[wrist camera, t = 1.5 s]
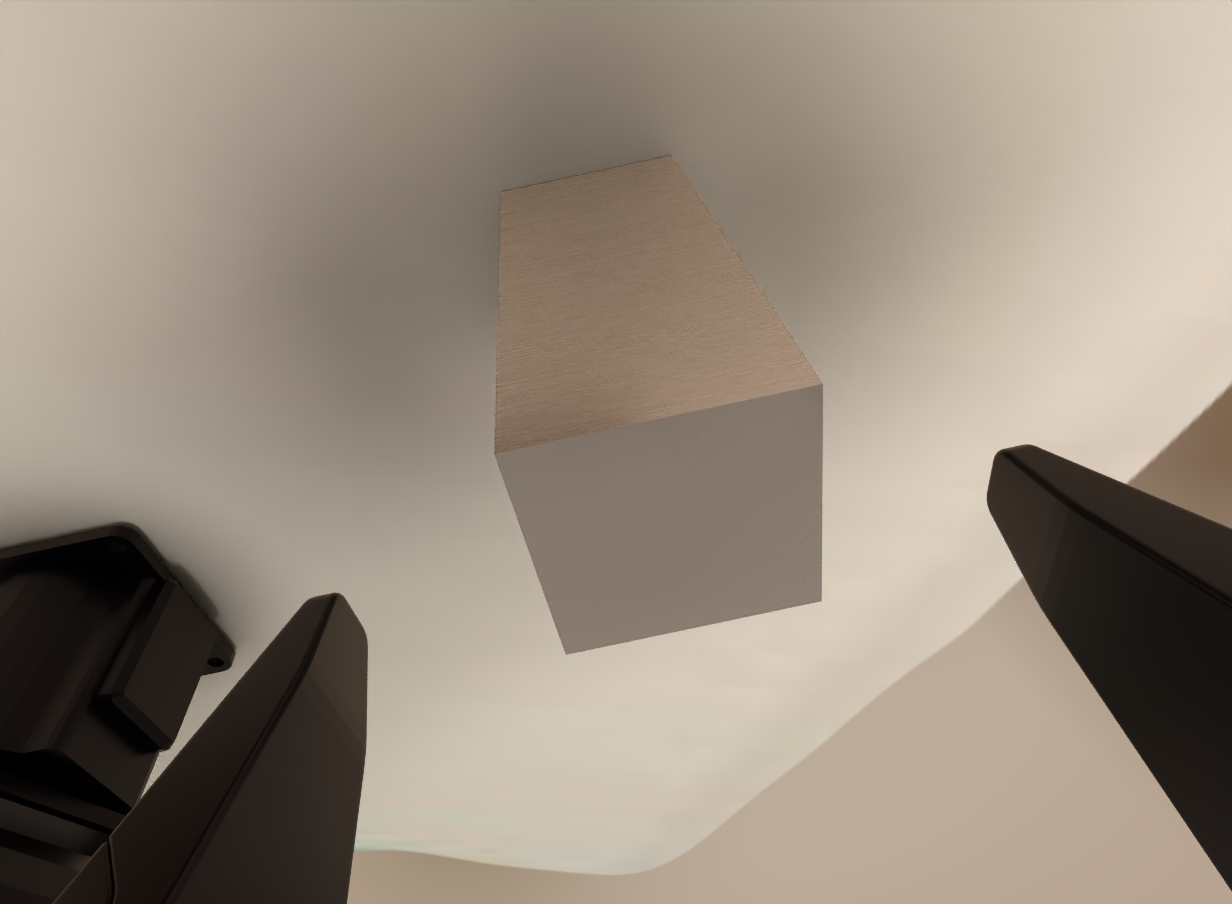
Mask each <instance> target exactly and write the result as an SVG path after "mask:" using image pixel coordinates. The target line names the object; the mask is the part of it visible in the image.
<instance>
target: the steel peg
mask: <svg viewBox="0 0 1232 904" xmlns="http://www.w3.org/2000/svg"><path fill="white" fill-rule="evenodd" d="M822 446H823V383H822V382H821V380H820V379H819V377H818V376H817V374H816V373H815V371H814V370H813V368H812V367H811V365H810V364H809V362H808V361H807V359H806V358H805V356H804V355H803V353H802V352H801V350H800V349H799V347H798V345H797V344H796V342H795V341H794V339H793V338H792V336H791V335H790V333H789V332H788V330H787V329H786V327H785V326H784V324H783V323H782V321H781V320H780V318H779V317H778V315H777V314H776V312H775V311H774V309H773V308H772V306H771V305H770V303H769V302H768V300H767V299H766V297H765V296H764V294H763V293H762V291H761V290H760V288H759V287H758V285H757V284H756V282H755V281H754V279H753V278H752V276H751V275H750V273H749V272H748V270H747V269H746V267H745V265H744V264H743V262H742V261H741V259H740V258H739V256H738V255H737V253H736V252H735V250H734V249H733V247H732V246H731V244H730V243H729V241H728V240H727V238H726V237H725V235H724V234H723V232H722V231H721V229H720V228H719V226H718V225H717V223H716V222H715V220H714V219H713V217H712V216H711V214H710V213H709V211H708V210H707V208H706V207H705V205H704V204H703V202H702V201H701V199H700V198H699V196H698V195H697V193H696V192H695V190H694V188H693V187H692V185H691V184H690V182H689V181H688V179H687V178H686V176H685V175H684V173H683V172H682V170H681V169H680V167H679V166H678V164H677V163H676V161H675V160H674V158H673V157H672V155H670V156H665V157H661V158H656V159H651V160H647V161H642V162H637V163H633V164H628V165H624V166H619V167H614V168H610V169H605V170H601V171H596V172H591V173H587V174H582V175H578V176H573V177H568V178H564V179H559V180H554V181H550V182H545V183H541V184H536V185H531V186H527V187H522V188H518V189H513V190H508V191H504V192H501V214H500V254H499V294H498V333H497V373H496V413H495V453H494V454H495V457H496V459H497V462H498V465H499V468H500V471H501V474H502V476H503V479H504V482H505V485H506V488H507V490H508V493H509V496H510V499H511V502H512V504H513V507H514V510H515V513H516V516H517V519H518V521H519V524H520V527H521V530H522V533H523V535H524V538H525V541H526V544H527V547H528V549H529V552H530V555H531V558H532V561H533V564H534V566H535V569H536V572H537V575H538V578H539V580H540V583H541V586H542V589H543V592H544V594H545V597H546V600H547V603H548V606H549V608H550V611H551V614H552V617H553V620H554V623H555V625H556V628H557V631H558V634H559V637H560V639H561V642H562V645H563V648H564V651H565V653H566V655H567V654H572V653H576V652H581V651H586V650H591V649H595V648H600V647H605V646H610V645H615V644H619V643H624V642H629V641H634V640H638V639H643V638H648V637H653V636H657V635H662V634H667V633H672V632H677V631H681V630H686V629H691V628H696V627H700V626H705V625H710V624H715V623H719V622H724V621H729V620H734V619H739V618H743V617H748V616H753V615H758V614H762V613H767V612H772V611H777V610H781V609H786V608H791V607H796V606H801V605H805V604H810V603H815V602H820V601H821V596H822Z"/></svg>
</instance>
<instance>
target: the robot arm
mask: <svg viewBox="0 0 1232 904" xmlns="http://www.w3.org/2000/svg"><path fill="white" fill-rule="evenodd" d="M987 504H988V508H989V511H990V513H991V515H992V517H993V519H994V521H995V523H996V525H997V527H998V529H999V530H1000V532H1001V534H1002V536H1003V538H1004V540H1005V542H1006V544H1007V546H1008V548H1009V550H1010V551H1011V553H1012V555H1013V557H1014V559H1015V561H1016V563H1017V565H1018V567H1019V569H1020V571H1021V573H1022V574H1023V576H1024V578H1025V580H1026V582H1027V584H1028V586H1029V588H1030V590H1031V592H1032V593H1033V595H1034V597H1035V599H1036V601H1037V602H1038V604H1039V606H1040V607H1041V609H1042V611H1043V612H1044V614H1045V615H1046V617H1047V618H1048V620H1049V622H1050V623H1051V625H1052V626H1053V628H1054V629H1055V630H1056V632H1057V633H1058V635H1059V636H1060V638H1061V639H1062V641H1063V642H1064V644H1065V645H1066V647H1067V648H1068V650H1069V651H1070V653H1071V654H1072V656H1073V657H1074V659H1075V660H1076V662H1077V663H1078V664H1079V666H1080V667H1081V669H1082V670H1083V672H1084V673H1085V675H1086V676H1087V678H1088V679H1089V681H1090V682H1091V684H1092V685H1093V687H1094V688H1095V690H1096V691H1097V692H1098V694H1099V696H1100V697H1101V699H1102V700H1103V702H1104V703H1105V704H1106V706H1107V707H1108V709H1109V710H1110V712H1111V713H1112V715H1113V716H1114V718H1115V719H1116V721H1117V722H1118V724H1119V725H1120V727H1121V728H1122V730H1123V731H1124V733H1125V734H1126V735H1127V737H1128V738H1129V740H1130V741H1131V743H1132V744H1133V746H1134V747H1135V749H1136V750H1137V752H1138V753H1139V755H1140V756H1141V758H1142V759H1143V761H1144V762H1145V764H1146V765H1147V767H1148V768H1149V770H1150V771H1151V773H1152V774H1153V776H1154V777H1155V778H1156V780H1157V781H1158V783H1159V784H1160V786H1161V787H1162V789H1163V790H1164V792H1165V793H1166V795H1167V796H1168V798H1169V799H1170V801H1171V802H1172V804H1173V805H1174V807H1175V808H1176V810H1177V811H1178V812H1179V814H1180V815H1181V817H1182V818H1183V820H1184V821H1185V823H1186V824H1187V826H1188V827H1189V829H1190V830H1191V832H1192V833H1193V835H1194V836H1195V838H1196V839H1197V841H1198V842H1199V844H1200V845H1201V847H1202V848H1203V850H1204V851H1205V852H1206V854H1207V855H1208V857H1209V858H1210V860H1211V861H1212V863H1213V864H1214V866H1215V867H1216V869H1217V870H1218V872H1219V873H1220V875H1221V876H1222V877H1223V879H1224V881H1225V882H1226V884H1227V885H1228V886H1229V888H1230V889H1231V891H1232V529H1231V528H1229V527H1227V526H1224V525H1221V524H1219V523H1217V522H1215V521H1212V520H1210V519H1208V518H1205V517H1203V516H1200V515H1198V514H1196V513H1193V512H1191V511H1189V510H1186V509H1184V508H1181V507H1179V506H1176V505H1174V504H1172V503H1169V502H1167V501H1165V500H1162V499H1160V498H1158V497H1155V496H1153V495H1150V494H1148V493H1146V492H1143V491H1141V490H1139V489H1136V488H1134V487H1131V486H1129V485H1127V484H1124V483H1122V482H1120V481H1117V480H1115V479H1112V478H1110V477H1108V476H1105V475H1103V474H1101V473H1098V472H1096V471H1093V470H1091V469H1089V468H1086V467H1084V466H1082V465H1079V464H1077V463H1074V462H1072V461H1070V460H1067V459H1065V458H1062V457H1060V456H1058V455H1055V454H1053V453H1051V452H1048V451H1046V450H1043V449H1041V448H1039V447H1036V446H1033V445H1029V444H1027V445H1020V446H1015V447H1010V448H1006V449H1002V450H1000V451H998V452H997V454H996V455H995V457H994V460H993V465H992V470H991V475H990V480H989V486H988V491H987ZM117 542H119V543H122V544H123V545H122V544H119V543H117ZM234 658H235V651H234V649H233V648H232V647H231V645H230V644H229V643H228V642H227V641H226V639H225V638H224V637H223V636H222V634H221V633H220V632H219V631H218V630H217V628H216V627H215V626H214V625H213V623H212V622H211V621H210V620H209V619H208V617H207V616H206V615H205V614H204V613H203V611H202V610H201V609H200V608H199V606H198V605H197V604H196V603H195V602H194V600H193V599H192V598H191V597H190V595H189V594H188V593H187V592H186V591H185V589H184V588H183V587H182V586H181V585H180V583H179V582H178V581H177V580H176V578H175V577H174V576H173V575H172V574H171V572H170V571H169V570H168V569H167V567H166V566H165V565H164V564H163V563H162V561H161V560H160V559H159V558H158V557H157V555H156V554H155V553H154V552H153V550H152V549H151V548H150V547H149V546H148V544H147V543H146V542H145V541H144V539H143V538H142V537H141V536H140V535H139V534H138V533H137V532H136V531H134V530H132V529H130V528H127V527H122V526H114V527H109V528H104V529H99V530H95V531H90V532H85V533H80V534H76V535H71V536H66V537H62V538H57V539H52V540H48V541H43V542H38V543H34V544H29V545H24V546H19V547H15V548H10V549H5V550H1V551H0V904H347V898H348V890H349V882H350V875H351V867H352V859H353V852H354V844H355V836H356V828H357V820H358V813H359V805H360V797H361V789H362V781H363V774H364V765H365V755H366V738H367V669H368V643H367V637H366V633H365V630H364V628H363V626H362V625H361V623H360V621H359V620H358V618H357V617H356V615H355V613H354V612H353V610H352V609H351V607H350V605H349V604H348V602H347V600H346V599H345V598H344V596H343V595H341V594H340V593H330V594H326V595H321V596H316V597H312V598H310V599H308V600H307V601H306V602H305V603H304V604H303V605H302V606H301V607H300V609H299V610H298V611H297V612H296V613H295V615H294V616H293V617H292V618H291V619H290V621H289V622H288V623H287V624H286V625H285V627H284V628H283V629H282V630H281V631H280V633H279V634H278V635H277V636H276V637H275V639H274V640H273V641H272V642H271V643H270V645H269V646H268V647H267V648H266V649H265V651H264V652H263V653H262V654H261V655H260V657H259V658H258V659H257V660H256V661H255V662H254V664H253V665H252V666H251V667H250V668H249V670H248V671H247V672H246V673H245V674H244V676H243V677H242V678H241V679H240V680H239V682H238V683H237V684H236V685H235V686H234V688H233V689H232V690H231V691H230V692H229V694H228V695H227V696H226V697H225V698H224V700H223V701H222V702H221V703H220V704H219V706H218V707H217V708H216V709H215V710H214V712H213V713H212V714H211V715H210V716H209V718H208V719H207V720H206V721H205V722H204V723H203V725H202V726H201V727H200V728H199V729H198V731H197V732H196V733H195V734H194V735H193V737H192V738H191V739H190V740H189V741H188V743H187V744H186V745H185V746H184V747H183V749H182V750H181V751H180V752H179V753H178V755H177V756H176V757H175V758H174V759H173V761H172V762H171V763H170V764H169V765H168V767H167V768H166V769H165V770H164V771H163V773H162V774H161V775H160V776H159V777H158V779H157V780H156V781H155V782H154V783H153V784H152V786H151V787H150V788H149V789H148V790H147V792H146V793H145V794H144V795H143V796H142V793H143V791H144V789H145V786H146V784H147V781H148V779H149V776H150V774H151V772H152V769H153V767H154V764H155V762H156V760H157V757H158V755H159V752H162V751H166V750H168V749H170V748H171V746H172V745H173V743H174V741H175V740H176V737H177V735H178V732H179V730H180V727H181V725H182V722H183V720H184V717H185V715H186V712H187V710H188V707H189V705H190V702H191V700H192V697H193V695H194V692H195V690H196V687H197V685H198V682H199V680H200V677H201V676H203V675H207V674H212V673H217V672H222V671H225V670H228V669H229V668H230V667H231V666H232V663H233V660H234ZM141 796H142V798H141ZM140 798H141V799H140Z"/></svg>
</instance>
